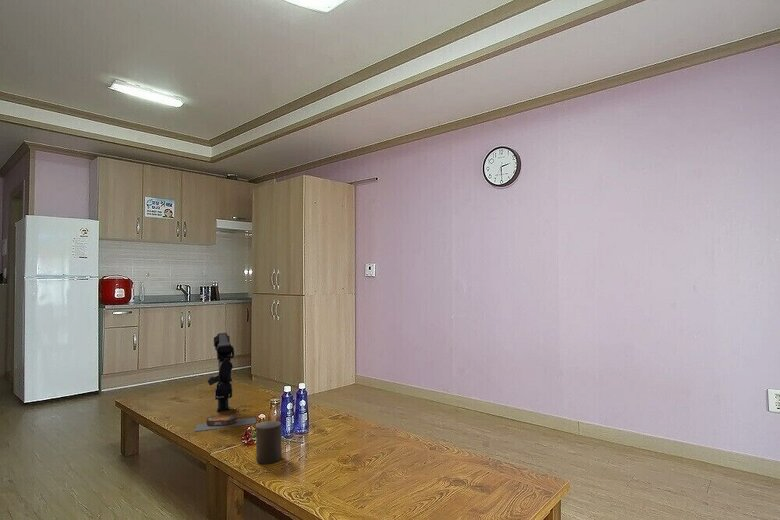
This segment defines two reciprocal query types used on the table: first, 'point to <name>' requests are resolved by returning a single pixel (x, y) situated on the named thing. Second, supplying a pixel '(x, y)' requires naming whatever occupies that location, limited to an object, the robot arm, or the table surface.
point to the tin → (221, 420)
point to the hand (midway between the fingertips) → (225, 399)
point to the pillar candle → (268, 442)
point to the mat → (237, 423)
